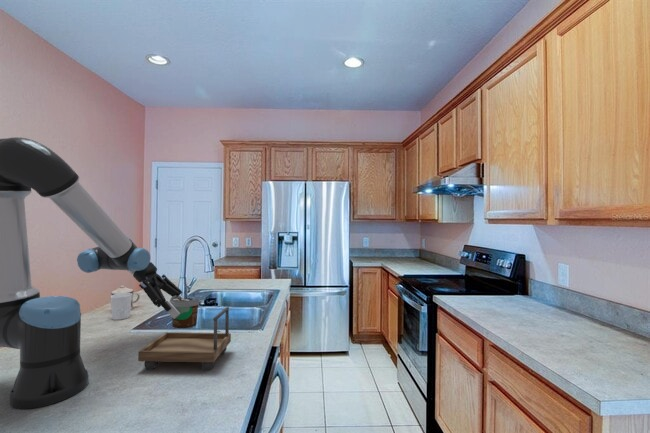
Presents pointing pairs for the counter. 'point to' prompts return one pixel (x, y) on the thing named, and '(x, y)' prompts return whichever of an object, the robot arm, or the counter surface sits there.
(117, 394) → the counter surface
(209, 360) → the dolly
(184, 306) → the food container
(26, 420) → the counter surface
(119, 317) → the white cup
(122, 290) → the teacup with lid
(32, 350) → the robot arm
